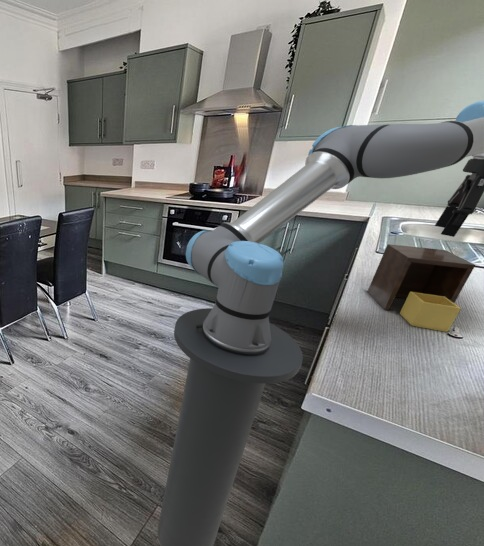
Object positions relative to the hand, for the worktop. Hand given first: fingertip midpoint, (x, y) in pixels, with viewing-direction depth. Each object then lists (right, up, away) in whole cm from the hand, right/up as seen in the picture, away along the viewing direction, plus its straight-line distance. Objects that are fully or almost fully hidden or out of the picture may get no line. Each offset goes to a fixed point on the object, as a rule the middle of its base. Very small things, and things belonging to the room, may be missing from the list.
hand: (443, 231), depth 97 cm
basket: (-22, -27, -13) cm, 37 cm away
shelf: (-17, -23, -4) cm, 29 cm away
